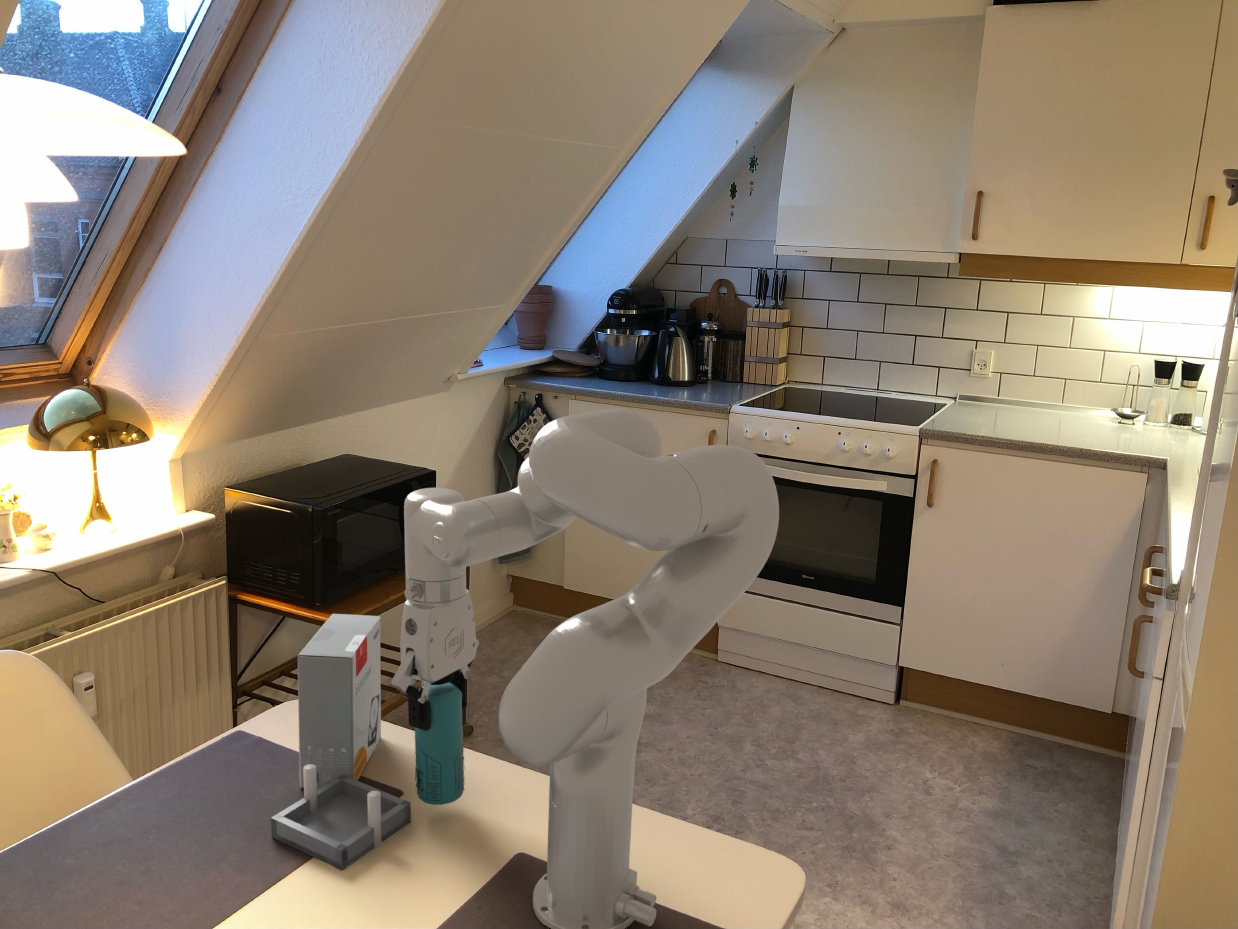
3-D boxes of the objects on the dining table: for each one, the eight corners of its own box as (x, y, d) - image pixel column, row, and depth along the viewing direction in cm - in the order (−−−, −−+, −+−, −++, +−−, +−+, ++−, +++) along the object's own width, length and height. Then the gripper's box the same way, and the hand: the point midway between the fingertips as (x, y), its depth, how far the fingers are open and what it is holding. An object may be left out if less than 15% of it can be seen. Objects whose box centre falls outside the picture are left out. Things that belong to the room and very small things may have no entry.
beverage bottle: (475, 803, 132) (474, 663, 127) (434, 822, 127) (432, 678, 123) (445, 784, 136) (443, 648, 132) (404, 803, 131) (401, 662, 127)
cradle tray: (412, 822, 129) (411, 774, 128) (343, 871, 119) (342, 820, 117) (341, 792, 135) (339, 746, 134) (270, 836, 125) (267, 787, 123)
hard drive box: (354, 792, 136) (351, 658, 131) (298, 790, 136) (293, 655, 131) (382, 736, 151) (381, 614, 146) (333, 734, 151) (329, 611, 146)
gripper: (412, 612, 116) (415, 752, 120) (501, 573, 130) (501, 698, 134) (365, 600, 119) (369, 736, 123) (456, 563, 134) (458, 685, 138)
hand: (438, 715), depth 129 cm, fingers closed on beverage bottle, 6 cm apart
